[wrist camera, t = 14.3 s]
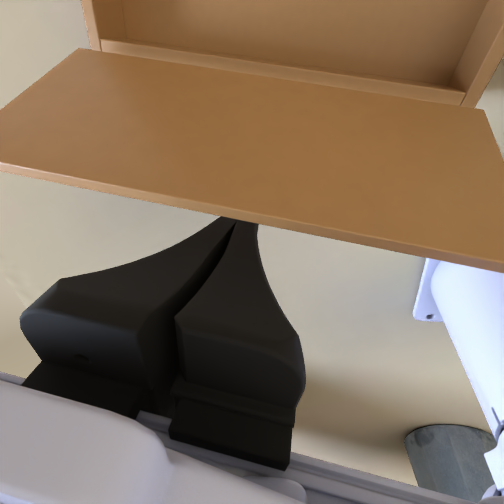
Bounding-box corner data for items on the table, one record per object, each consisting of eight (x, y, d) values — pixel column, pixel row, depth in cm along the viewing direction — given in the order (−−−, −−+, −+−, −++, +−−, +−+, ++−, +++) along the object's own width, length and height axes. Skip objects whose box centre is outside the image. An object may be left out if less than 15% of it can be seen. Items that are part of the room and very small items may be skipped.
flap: (484, 109, 9) (475, 120, 10) (78, 47, 11) (83, 59, 11) (547, 271, 6) (531, 280, 6) (-55, 151, 7) (-41, 163, 8)
